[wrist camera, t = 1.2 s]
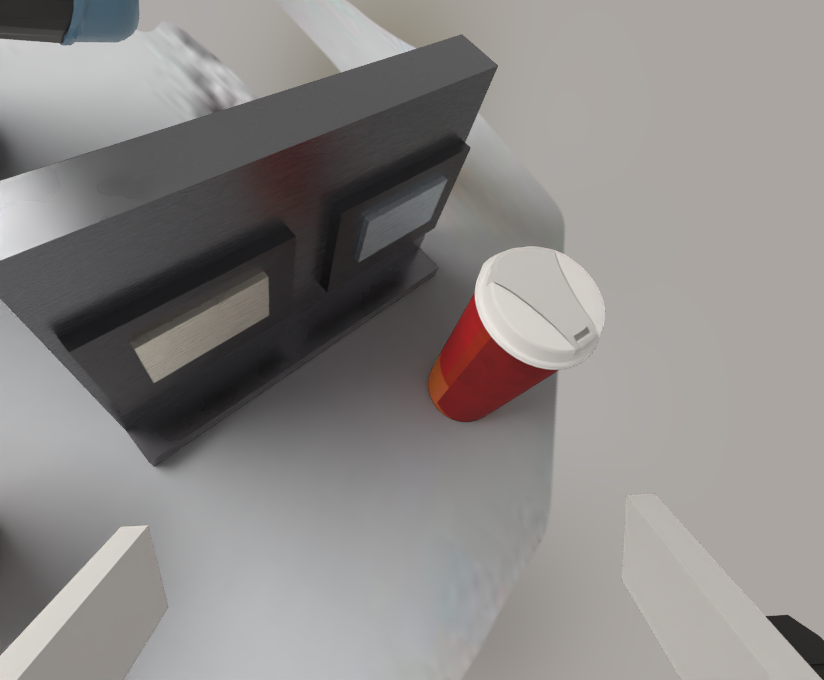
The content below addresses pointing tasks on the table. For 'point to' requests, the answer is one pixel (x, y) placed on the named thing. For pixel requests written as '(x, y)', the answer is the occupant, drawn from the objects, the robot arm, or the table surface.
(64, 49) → the table surface
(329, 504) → the table surface
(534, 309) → the paper cup
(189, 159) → the panel
